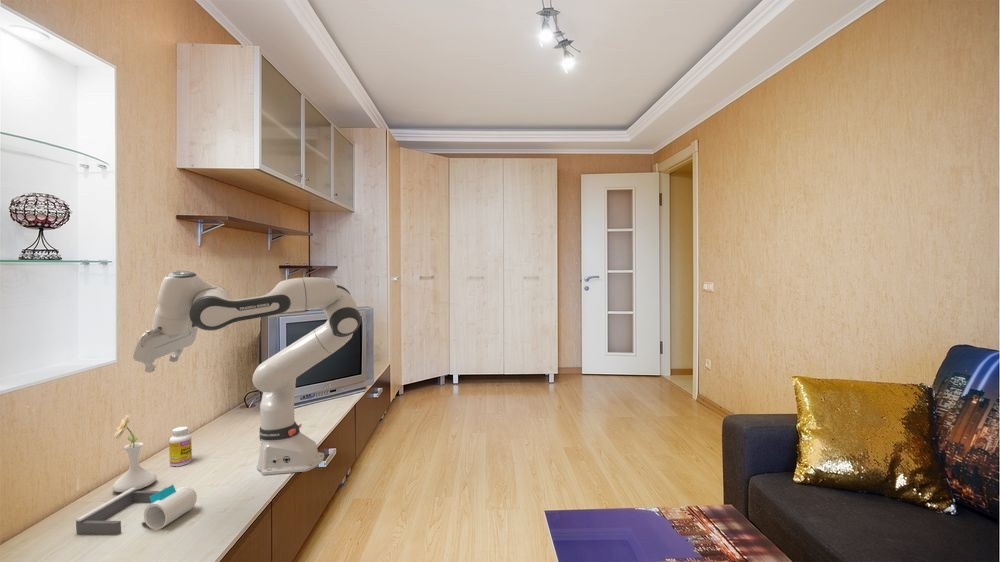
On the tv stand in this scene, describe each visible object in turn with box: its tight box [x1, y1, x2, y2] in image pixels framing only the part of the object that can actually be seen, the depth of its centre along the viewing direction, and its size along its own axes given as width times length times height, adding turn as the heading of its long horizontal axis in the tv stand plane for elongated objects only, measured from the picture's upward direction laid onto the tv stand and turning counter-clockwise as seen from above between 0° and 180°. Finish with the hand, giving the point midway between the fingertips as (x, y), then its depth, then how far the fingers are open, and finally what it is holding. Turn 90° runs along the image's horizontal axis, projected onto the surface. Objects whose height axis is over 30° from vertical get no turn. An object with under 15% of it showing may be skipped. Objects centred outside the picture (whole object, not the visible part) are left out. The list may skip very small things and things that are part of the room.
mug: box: [141, 484, 198, 530], centre depth 127 cm, size 12×9×12 cm
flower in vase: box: [111, 413, 158, 493], centre depth 145 cm, size 13×11×25 cm
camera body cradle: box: [75, 488, 160, 535], centre depth 128 cm, size 12×17×4 cm, turn 177°
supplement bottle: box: [168, 426, 193, 467], centre depth 163 cm, size 7×7×13 cm
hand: (161, 366), depth 134 cm, fingers open, 8 cm apart
